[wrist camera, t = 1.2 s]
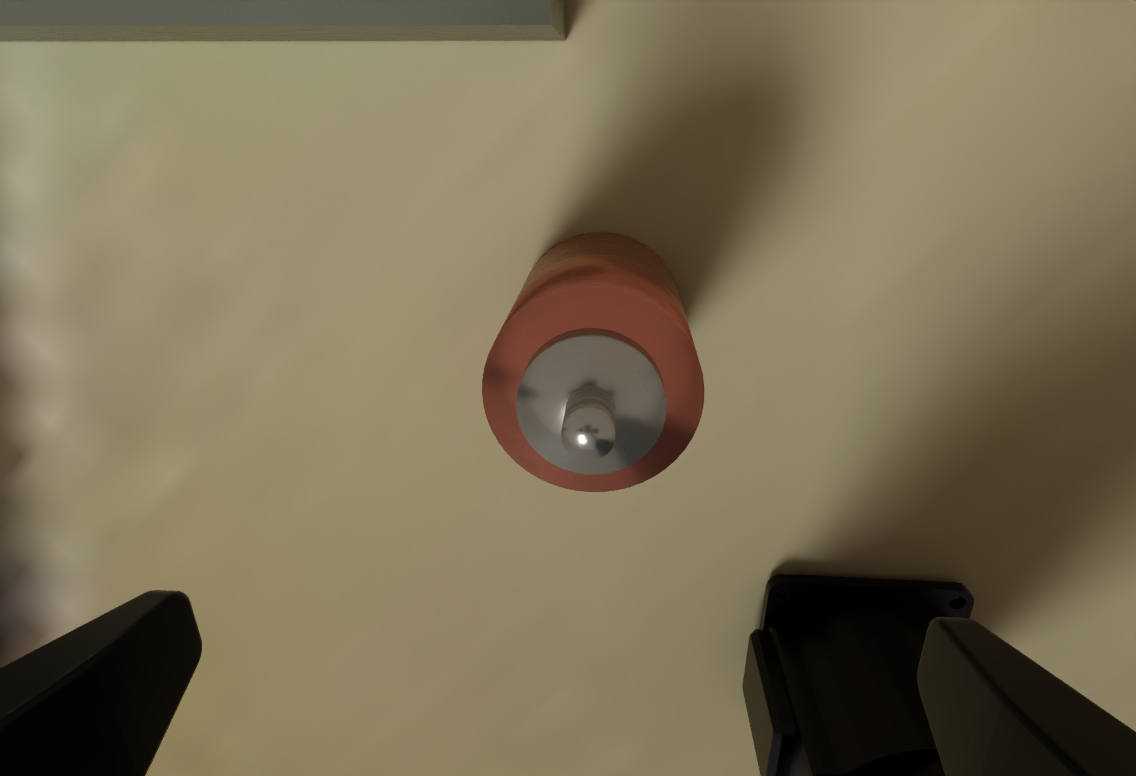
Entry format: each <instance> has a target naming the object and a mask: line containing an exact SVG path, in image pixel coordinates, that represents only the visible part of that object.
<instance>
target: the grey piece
mask: <svg viewBox="0 0 1136 776" xmlns="http://www.w3.org/2000/svg"><path fill="white" fill-rule="evenodd" d="M511 40H566V0H0V41H511Z"/></svg>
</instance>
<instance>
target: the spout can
mask: <svg viewBox="0 0 1136 776" xmlns="http://www.w3.org/2000/svg"><path fill="white" fill-rule="evenodd" d="M482 395H483V404H484V409H485V413H486V416H487V420H488V422H489V425H490V427H491V429H492V432H493V433H494V435H495V437H496V439H497V440H498V442H499V443H500V445H501V446H502V447H503V449H504V450H505V451H506V453H507V454H508V455H509V456H510V457H511V458H512V459H513V460H514V461H515V462H516V463H518V464H519V465H520V466H521V467H523V468H524V469H525V470H526V471H528V472H529V473H531V474H533V475H534V476H536V477H538V478H540V479H542V480H544V481H546V482H548V483H550V484H553V485H556V486H559V487H562V488H566V489H571V490H576V491H585V492H606V491H614V490H620V489H624V488H628V487H631V486H634V485H637V484H639V483H642V482H644V481H646V480H648V479H650V478H652V477H654V476H656V475H657V474H659V473H660V472H661V471H663V470H664V469H666V468H667V467H668V466H669V465H670V464H672V463H673V462H674V461H675V460H676V459H677V458H678V457H679V456H680V454H681V453H682V452H683V451H684V450H685V448H686V447H687V445H688V444H689V442H690V441H691V439H692V437H693V435H694V433H695V431H696V429H697V427H698V424H699V421H700V418H701V415H702V409H703V403H704V382H703V374H702V370H701V366H700V363H699V359H698V356H697V352H696V349H695V346H694V342H693V339H692V336H691V332H690V329H689V325H688V322H687V319H686V315H685V312H684V308H683V305H682V302H681V298H680V295H679V291H678V288H677V285H676V282H675V280H674V278H673V275H672V273H671V272H670V270H669V269H668V267H667V265H666V264H665V263H664V262H663V260H662V259H661V258H660V257H659V256H658V255H657V254H656V253H655V252H654V251H653V250H651V249H650V248H648V247H647V246H646V245H644V244H643V243H641V242H639V241H637V240H635V239H633V238H630V237H627V236H624V235H620V234H616V233H608V232H592V233H586V234H580V235H577V236H574V237H571V238H569V239H567V240H565V241H562V242H560V243H559V244H557V245H556V246H554V247H553V248H551V249H550V250H549V251H548V252H547V253H545V254H544V255H543V256H542V257H541V259H540V260H539V261H538V262H537V263H536V265H535V266H534V268H533V269H532V271H531V272H530V274H529V276H528V278H527V280H526V282H525V284H524V286H523V288H522V290H521V292H520V294H519V296H518V298H517V299H516V301H515V303H514V305H513V307H512V309H511V311H510V313H509V315H508V317H507V319H506V321H505V323H504V325H503V327H502V329H501V330H500V332H499V334H498V336H497V338H496V340H495V342H494V344H493V346H492V348H491V350H490V353H489V355H488V358H487V361H486V364H485V368H484V374H483V380H482Z"/></svg>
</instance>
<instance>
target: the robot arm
mask: <svg viewBox="0 0 1136 776" xmlns="http://www.w3.org/2000/svg"><path fill="white" fill-rule="evenodd" d="M782 588H787V589H788V590H787V591H785V592H777V591H778V590H780V589H782ZM954 597H959V598H958V599H956V600H953V601H951V599H953V598H954ZM973 604H974V598H973V597H972V595H971V593H970V592H969V591H968V589H967V588H966V586H964V585H963V584H961V583H956V582H938V581H917V580H896V579H875V578H854V577H833V576H812V575H791V574H780V575H776V576H773V577H772V578H771V579H769V580H768V582H767V585H766V590H765V597H764V603H763V610H762V617H761V624H760V630H759V629H755V630H754V631H753V632H752V633H751V634H750V636H749V644H748V651H747V658H746V665H745V672H744V679H743V693H744V698H745V702H746V707H747V712H748V717H749V722H750V727H751V731H752V736H753V741H754V746H755V751H756V756H757V761H758V765H759V770H760V775H761V776H1136V732H1135V731H1134V730H1132V729H1131V728H1129V727H1128V726H1127V725H1125V724H1124V723H1122V722H1121V721H1119V720H1118V719H1116V718H1115V717H1114V716H1112V715H1111V714H1109V713H1108V712H1106V711H1105V710H1103V709H1102V708H1101V707H1099V706H1098V705H1096V704H1095V703H1093V702H1092V701H1090V700H1089V699H1088V698H1086V697H1085V696H1083V695H1082V694H1080V693H1079V692H1077V691H1076V690H1074V689H1073V688H1072V687H1070V686H1069V685H1067V684H1066V683H1064V682H1063V681H1061V680H1060V679H1059V678H1057V677H1056V676H1054V675H1053V674H1051V673H1050V672H1048V671H1047V670H1046V669H1044V668H1043V667H1041V666H1040V665H1038V664H1037V663H1035V662H1034V661H1033V660H1031V659H1030V658H1028V657H1027V656H1025V655H1024V654H1022V653H1021V652H1020V651H1018V650H1017V649H1015V648H1014V647H1012V646H1011V645H1009V644H1008V643H1007V642H1005V641H1004V640H1002V639H1001V638H999V637H998V636H996V635H995V634H994V633H992V632H991V631H989V630H988V629H986V628H985V627H983V626H982V625H981V624H979V623H977V622H976V621H974V620H972V619H969V617H970V614H971V611H972V607H973ZM201 652H202V640H201V636H200V633H199V630H198V626H197V623H196V620H195V616H194V613H193V610H192V606H191V603H190V600H189V598H188V597H187V595H186V594H185V593H183V592H180V591H166V590H153V591H148V592H146V593H144V594H142V595H140V596H138V597H136V598H134V599H132V600H130V601H128V602H126V603H124V604H122V605H121V606H119V607H117V608H115V609H113V610H111V611H109V612H107V613H105V614H103V615H101V616H100V617H98V618H96V619H94V620H92V621H90V622H88V623H86V624H84V625H82V626H80V627H78V628H77V629H75V630H73V631H71V632H69V633H67V634H65V635H63V636H61V637H59V638H57V639H56V640H54V641H52V642H50V643H48V644H46V645H44V646H42V647H40V648H38V649H36V650H34V651H33V652H31V653H29V654H27V655H25V656H23V657H21V658H19V659H17V660H15V661H13V662H11V663H10V664H8V665H6V666H4V667H2V668H0V776H145V775H146V773H147V771H148V769H149V767H150V765H151V763H152V761H153V759H154V757H155V754H156V752H157V750H158V748H159V746H160V744H161V742H162V740H163V737H164V735H165V733H166V731H167V729H168V727H169V725H170V723H171V720H172V718H173V716H174V714H175V712H176V710H177V708H178V706H179V703H180V701H181V699H182V697H183V695H184V693H185V691H186V689H187V686H188V684H189V682H190V680H191V678H192V676H193V674H194V671H195V669H196V667H197V665H198V663H199V660H200V657H201Z"/></svg>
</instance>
